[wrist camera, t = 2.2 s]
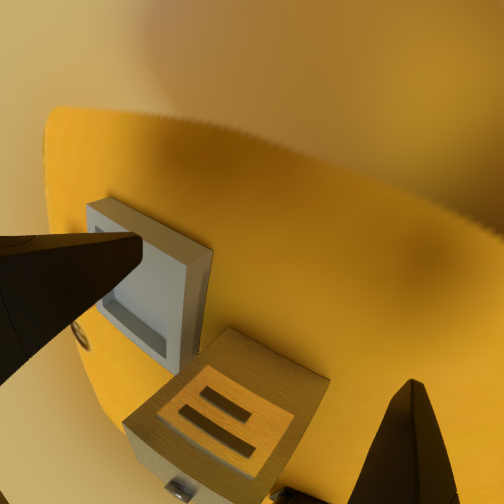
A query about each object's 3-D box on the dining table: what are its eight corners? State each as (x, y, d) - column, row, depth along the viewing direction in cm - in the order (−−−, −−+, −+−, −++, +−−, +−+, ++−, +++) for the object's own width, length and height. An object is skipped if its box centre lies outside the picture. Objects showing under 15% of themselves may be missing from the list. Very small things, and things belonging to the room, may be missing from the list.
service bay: (197, 361, 21) (178, 378, 19) (115, 299, 24) (97, 309, 22) (213, 250, 16) (186, 265, 14) (110, 196, 19) (86, 204, 18)
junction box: (291, 432, 18) (223, 529, 11) (215, 388, 21) (133, 468, 13) (333, 376, 15) (248, 523, 7) (230, 321, 17) (110, 425, 9)
